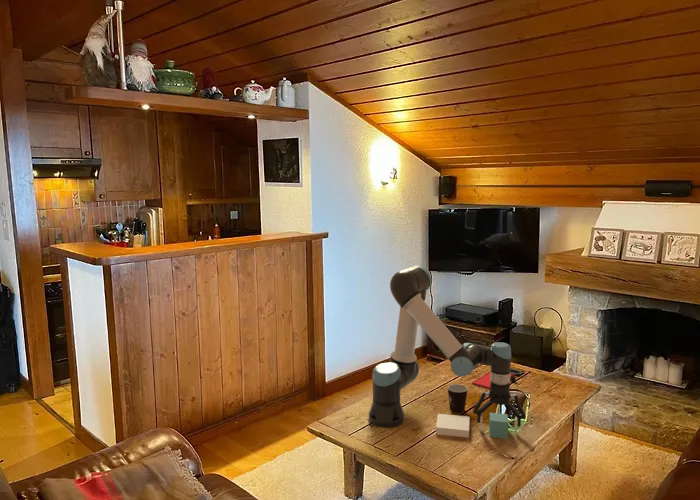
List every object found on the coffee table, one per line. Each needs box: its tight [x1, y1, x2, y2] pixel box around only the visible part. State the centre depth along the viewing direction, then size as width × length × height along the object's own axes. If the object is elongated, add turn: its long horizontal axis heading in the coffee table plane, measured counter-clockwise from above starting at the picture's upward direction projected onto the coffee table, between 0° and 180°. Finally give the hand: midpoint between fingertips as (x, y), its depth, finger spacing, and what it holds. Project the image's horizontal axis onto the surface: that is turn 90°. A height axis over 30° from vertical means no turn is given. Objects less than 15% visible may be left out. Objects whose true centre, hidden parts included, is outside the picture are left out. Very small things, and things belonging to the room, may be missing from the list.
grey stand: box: [435, 413, 470, 439], centre depth 223 cm, size 13×12×3 cm
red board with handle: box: [471, 367, 525, 390], centre depth 272 cm, size 30×3×15 cm
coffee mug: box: [447, 383, 468, 414], centre depth 241 cm, size 12×9×10 cm
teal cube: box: [488, 412, 509, 440], centre depth 218 cm, size 7×7×7 cm
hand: (498, 431), depth 219 cm, fingers open, 13 cm apart
